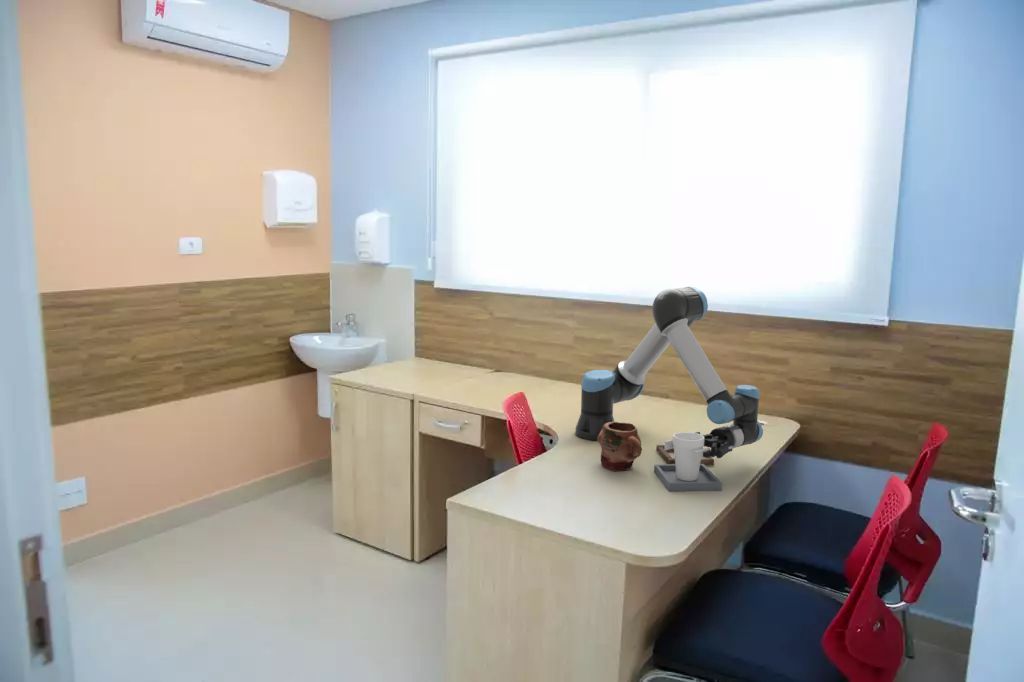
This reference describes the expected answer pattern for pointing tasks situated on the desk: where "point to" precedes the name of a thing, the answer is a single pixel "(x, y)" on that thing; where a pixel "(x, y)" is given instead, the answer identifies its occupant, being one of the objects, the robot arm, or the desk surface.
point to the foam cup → (687, 454)
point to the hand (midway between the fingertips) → (679, 450)
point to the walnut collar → (671, 460)
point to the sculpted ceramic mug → (619, 445)
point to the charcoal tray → (672, 483)
